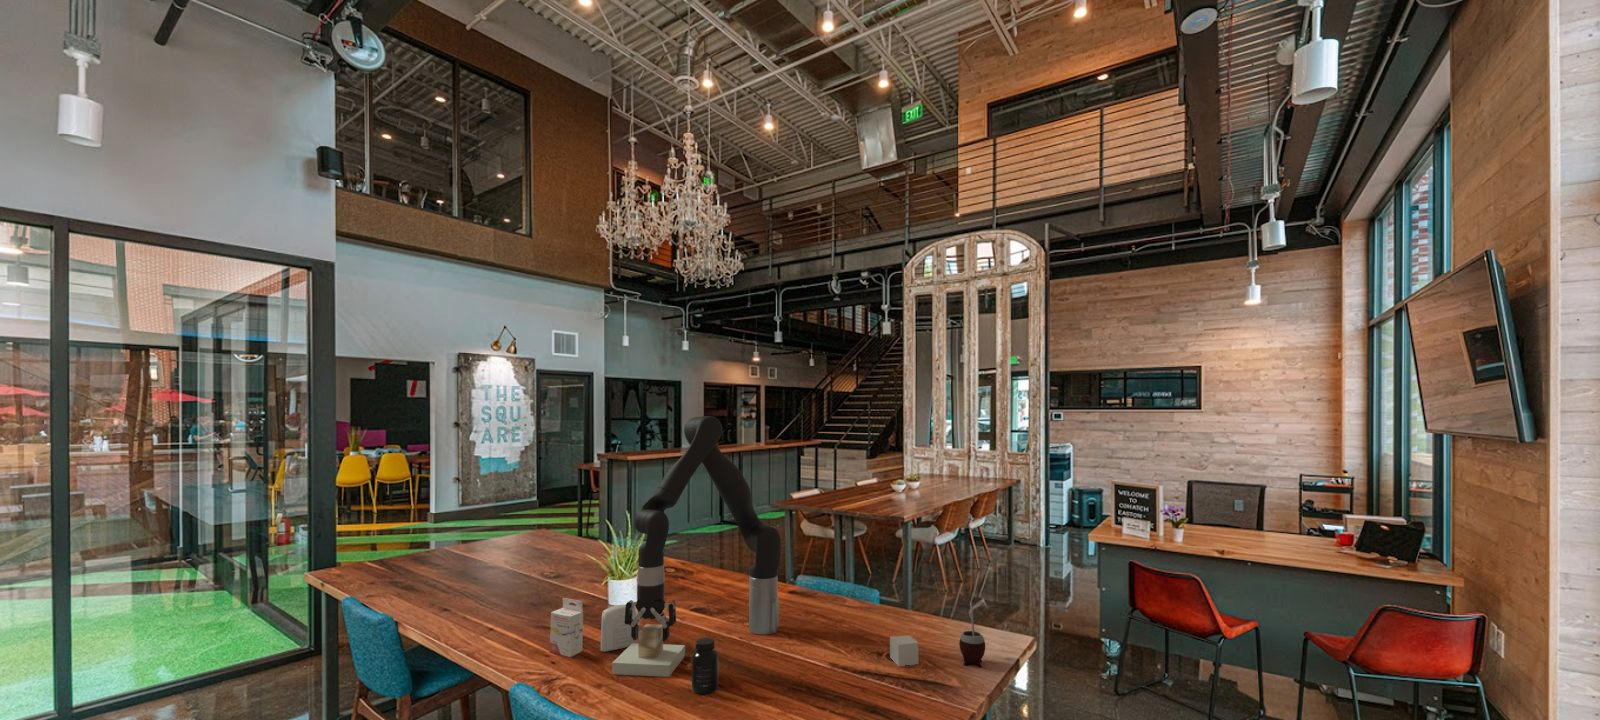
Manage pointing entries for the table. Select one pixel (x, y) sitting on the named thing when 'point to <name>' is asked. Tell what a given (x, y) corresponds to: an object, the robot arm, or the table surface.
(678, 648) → the base plate
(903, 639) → the grey cube
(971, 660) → the mate gourd
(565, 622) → the ink cartridge box
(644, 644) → the birch block
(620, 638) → the photo printer
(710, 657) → the supplement bottle
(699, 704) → the table surface
